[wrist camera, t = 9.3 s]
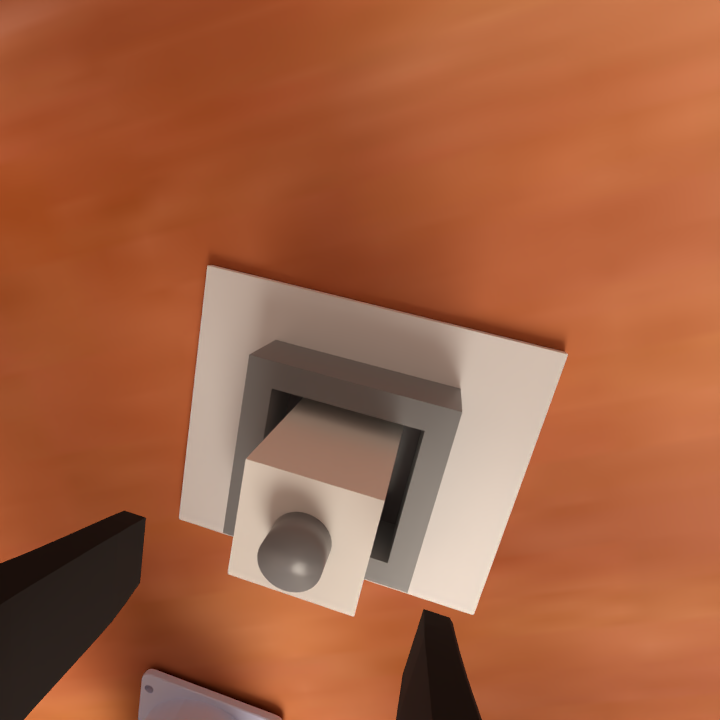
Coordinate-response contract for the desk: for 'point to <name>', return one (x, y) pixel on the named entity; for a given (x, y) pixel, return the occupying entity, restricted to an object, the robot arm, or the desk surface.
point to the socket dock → (377, 399)
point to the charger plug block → (314, 503)
